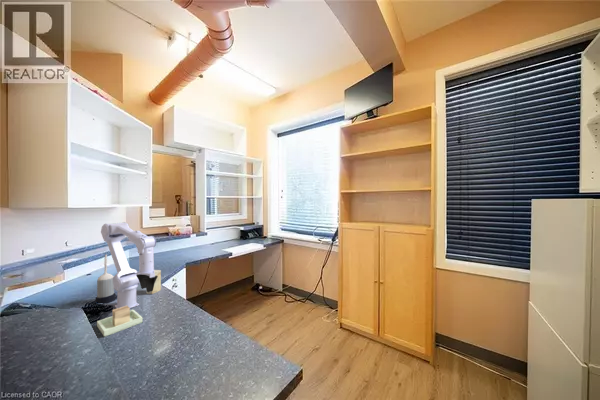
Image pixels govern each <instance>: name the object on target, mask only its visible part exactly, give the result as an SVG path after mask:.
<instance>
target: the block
mask: <svg viewBox="0 0 600 400" xmlns="http://www.w3.org/2000/svg"><path fill="white" fill-rule="evenodd" d="M130 310H131V308H129V307H128V306H124V307H120V308H114V309H112V316H113V325H114V326H115V327H116V326H118V325H121V324H124V323H127V322H129V321H130Z"/></svg>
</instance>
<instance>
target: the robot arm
mask: <svg viewBox="0 0 600 400" xmlns="http://www.w3.org/2000/svg"><path fill="white" fill-rule="evenodd" d="M100 234H101V237H102V239H103V242H105V243H107V247H108V249H109V252H110V254H111V257H112V261H113V263H114V266H115V269H116V272H117V273H116V274H115V275H113V276H114V277H113V287H114V291H116V292H117V294H116V304H115V305H114V307H115V309H117V308H120V307H124V306H128V307H129V308H130V309H132V308H135V307H138V306H140V303H138V302H137V288H138V287H139V285H140V289H146V290H147V292H151V291H153V288H154V284H155V281H156V279H157V277H158V276H157V275H156V276H155V273H154V270H155V262H154V261H155V260H154V254H155V253H154V250H155V249H154V248H155V247H156V245H157V239H156V237H155V236H154V235H149V236H148V235H147V234H146V233H143V232H141V230H134V229H132V228H131V227H129V223H128V222H125V221H123V222H117V223H104V224H103V225H102V226H101V230H100ZM126 237H127V238H128V241H130V242H131V243H133V244H135V247H136V249H137V253H138V254H139V255H138V256H139V257H138V261H139V262H138V263H139V264H138V265H139V266H138V267H139V270H137V269H134V268H131V267H130V264H129V262H128V259H127V256H126V253H125V250H124V248H123V246H122V245H123V244H122V241H123V240H125V238H126Z"/></svg>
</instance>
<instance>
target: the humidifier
mask: <svg viewBox="0 0 600 400" xmlns="http://www.w3.org/2000/svg"><path fill="white" fill-rule="evenodd" d="M103 264H104V267H103V270H104V273H103V274H100V276H99V277H98V278H97V282H96V296H95V301H94V303H95V302H98V303H106V304H109V303H111V302H114V301H115V300H117V294H116V293H115V289H114V287H113V277H114V276H115V275H113V274H112V273H108V254H105V255H104V263H103Z"/></svg>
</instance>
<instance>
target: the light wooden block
mask: <svg viewBox="0 0 600 400" xmlns="http://www.w3.org/2000/svg"><path fill="white" fill-rule="evenodd" d="M154 273H155V276H156V275H157V276H158V277H157V279H156V281H155V284H154V288H153V291H151V292H147V290H146V291H145V292H146V294H148V295H153V294H155V293H158V292H161V290H162V281H161V280H162V276H161V275H162V270H161V269H154Z"/></svg>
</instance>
